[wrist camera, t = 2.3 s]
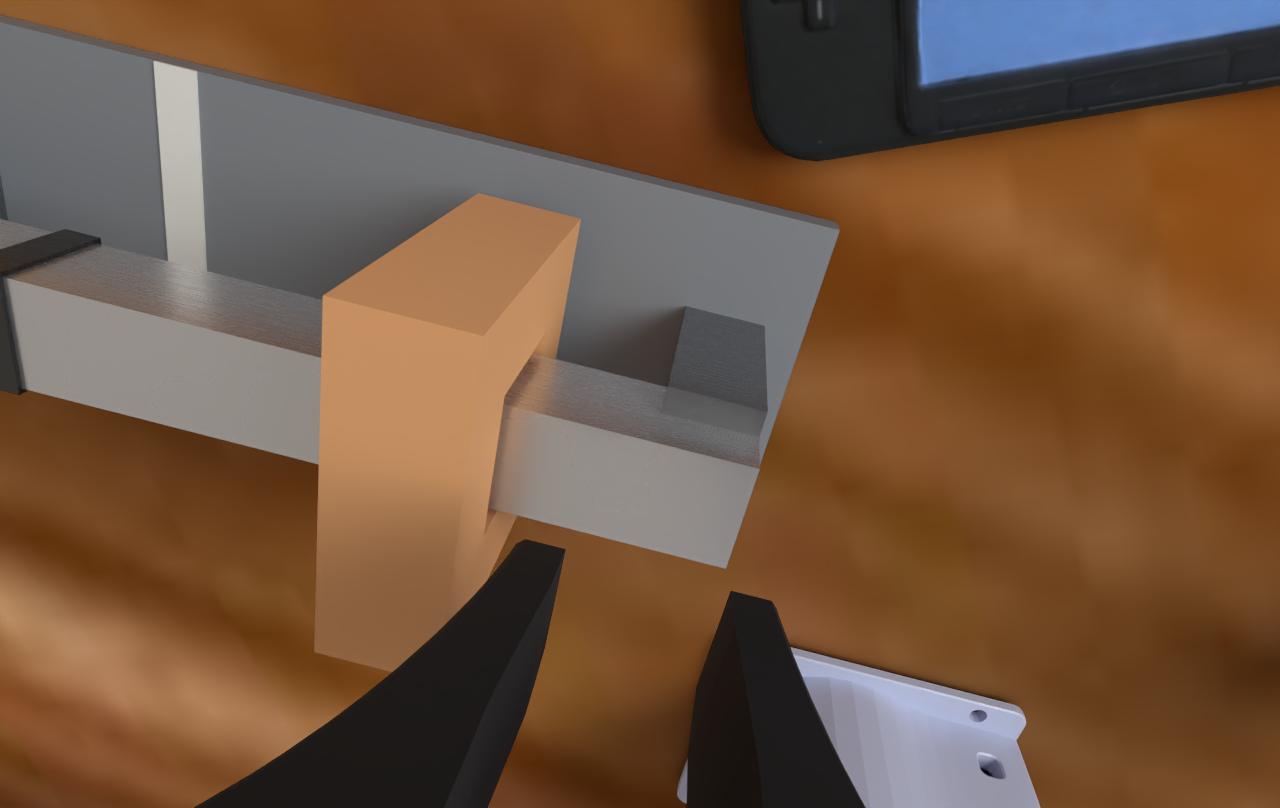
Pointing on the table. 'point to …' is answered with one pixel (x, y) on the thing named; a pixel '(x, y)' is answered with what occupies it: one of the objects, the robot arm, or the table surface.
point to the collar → (426, 419)
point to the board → (376, 198)
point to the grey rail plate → (291, 386)
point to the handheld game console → (987, 64)
